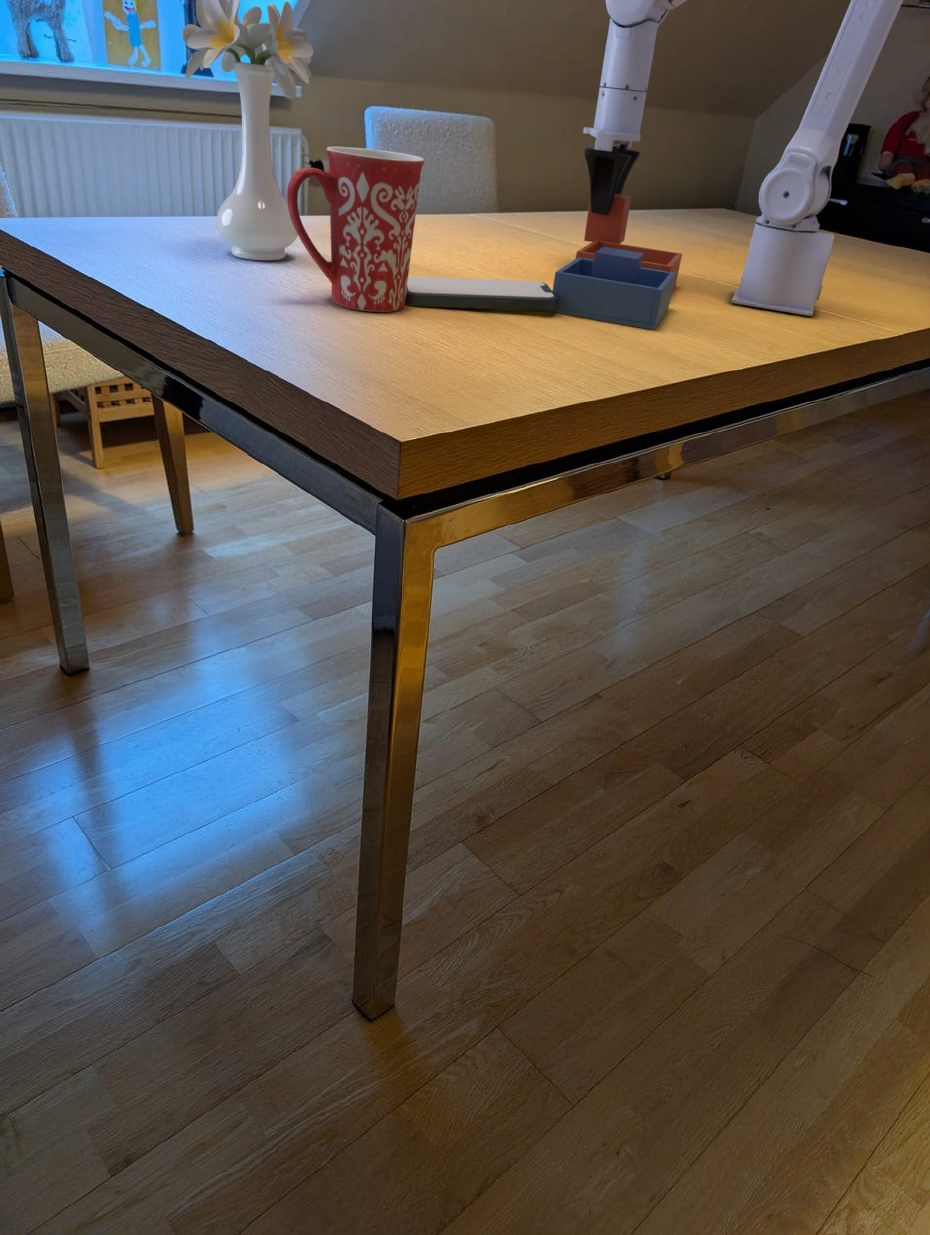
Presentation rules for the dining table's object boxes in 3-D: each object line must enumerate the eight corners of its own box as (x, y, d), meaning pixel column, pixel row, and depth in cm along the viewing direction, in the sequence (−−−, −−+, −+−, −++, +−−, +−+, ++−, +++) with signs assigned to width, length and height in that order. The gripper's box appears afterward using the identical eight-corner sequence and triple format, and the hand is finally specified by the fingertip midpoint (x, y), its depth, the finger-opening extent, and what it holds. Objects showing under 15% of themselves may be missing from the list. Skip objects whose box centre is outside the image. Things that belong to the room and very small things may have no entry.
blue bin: (668, 310, 100) (675, 273, 98) (654, 330, 91) (662, 289, 89) (572, 293, 102) (578, 257, 100) (549, 311, 93) (555, 271, 91)
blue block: (633, 305, 98) (644, 253, 95) (627, 313, 94) (637, 258, 91) (594, 298, 99) (603, 246, 96) (586, 306, 95) (595, 252, 92)
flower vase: (317, 245, 112) (319, 8, 99) (306, 275, 96) (307, -2, 83) (212, 236, 110) (200, -7, 97) (183, 264, 95) (165, -20, 82)
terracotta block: (624, 241, 117) (631, 195, 114) (618, 245, 113) (625, 198, 110) (591, 236, 118) (597, 191, 115) (583, 240, 114) (590, 194, 111)
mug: (400, 293, 93) (408, 150, 86) (425, 315, 86) (436, 161, 79) (280, 290, 89) (278, 140, 82) (296, 313, 82) (296, 150, 75)
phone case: (404, 309, 89) (559, 314, 91) (404, 293, 88) (560, 298, 90) (400, 290, 96) (543, 295, 98) (400, 275, 96) (545, 280, 98)
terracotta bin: (675, 286, 112) (682, 253, 110) (663, 302, 103) (671, 266, 101) (589, 272, 115) (595, 239, 113) (571, 286, 106) (576, 251, 104)
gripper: (602, 87, 114) (584, 202, 121) (578, 84, 102) (560, 212, 109) (656, 93, 112) (635, 210, 119) (638, 91, 100) (616, 220, 107)
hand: (603, 211), depth 114 cm, fingers closed on terracotta block, 4 cm apart
